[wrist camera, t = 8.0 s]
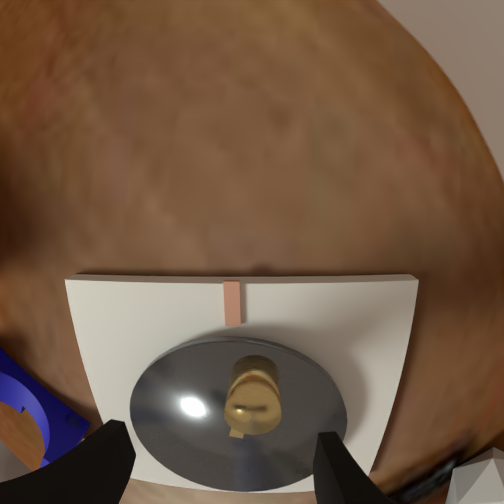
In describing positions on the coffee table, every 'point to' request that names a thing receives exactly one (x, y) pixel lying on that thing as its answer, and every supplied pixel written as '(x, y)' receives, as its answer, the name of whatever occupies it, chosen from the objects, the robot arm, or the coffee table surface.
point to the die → (479, 480)
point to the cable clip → (41, 409)
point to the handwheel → (236, 412)
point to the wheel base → (248, 325)
